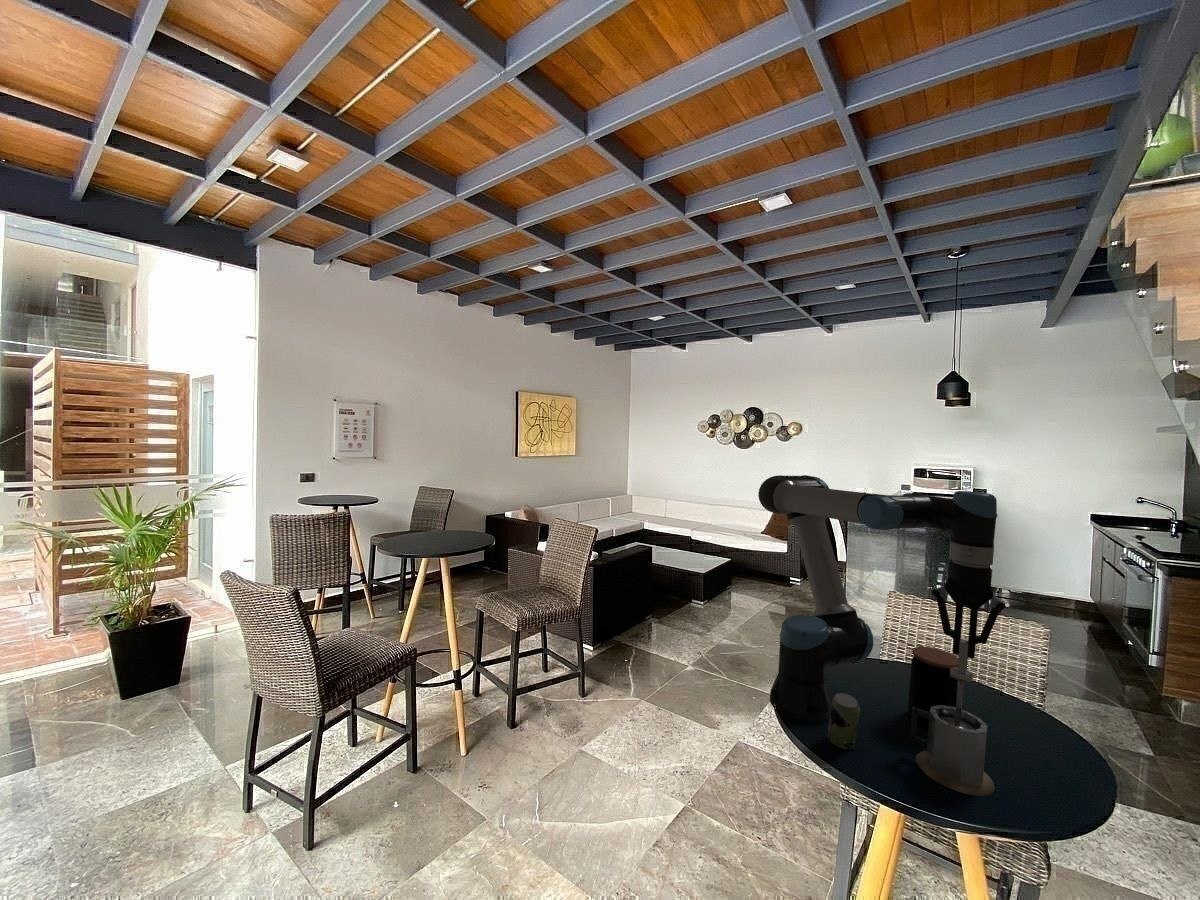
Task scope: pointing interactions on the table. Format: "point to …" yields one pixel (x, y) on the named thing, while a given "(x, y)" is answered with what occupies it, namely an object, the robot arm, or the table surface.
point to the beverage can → (843, 721)
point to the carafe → (953, 746)
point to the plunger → (959, 698)
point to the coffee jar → (931, 681)
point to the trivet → (981, 791)
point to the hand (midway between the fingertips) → (962, 670)
